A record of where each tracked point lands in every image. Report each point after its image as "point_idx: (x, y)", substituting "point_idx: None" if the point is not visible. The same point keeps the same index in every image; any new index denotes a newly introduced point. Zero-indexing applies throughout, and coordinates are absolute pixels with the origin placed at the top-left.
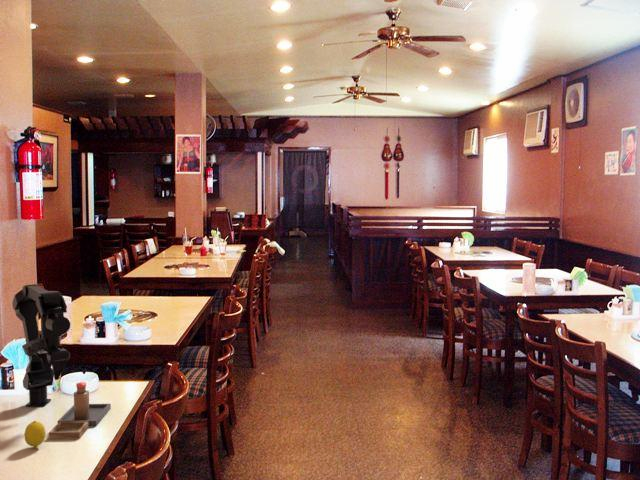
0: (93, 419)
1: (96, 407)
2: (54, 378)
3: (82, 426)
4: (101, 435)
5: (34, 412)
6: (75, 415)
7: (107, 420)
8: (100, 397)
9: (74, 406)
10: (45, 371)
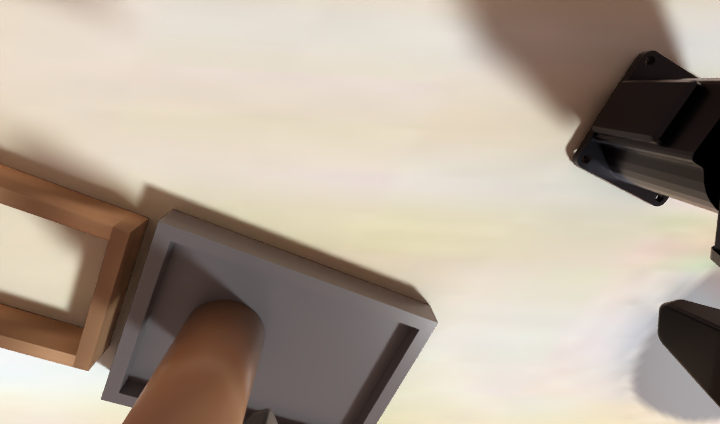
0: None
1: (368, 399)
2: (261, 421)
3: (5, 340)
4: None
5: (499, 99)
6: (191, 321)
7: None
8: (539, 412)
9: (179, 356)
10: (702, 325)
